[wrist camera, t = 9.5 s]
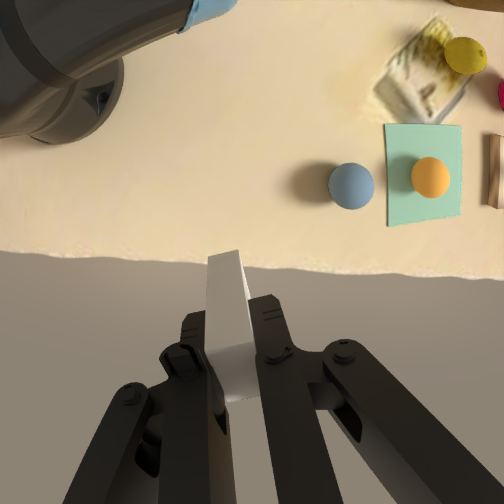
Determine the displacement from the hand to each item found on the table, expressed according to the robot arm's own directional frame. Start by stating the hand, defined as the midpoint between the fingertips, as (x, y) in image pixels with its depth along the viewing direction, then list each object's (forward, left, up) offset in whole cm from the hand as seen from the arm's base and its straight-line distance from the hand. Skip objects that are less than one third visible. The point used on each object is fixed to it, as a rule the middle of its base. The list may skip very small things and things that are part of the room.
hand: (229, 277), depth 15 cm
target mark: (+6, +27, -22) cm, 36 cm away
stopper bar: (+9, +43, -22) cm, 49 cm away
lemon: (-10, +36, -23) cm, 44 cm away
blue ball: (+4, +14, -20) cm, 24 cm away
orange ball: (+6, +26, -20) cm, 33 cm away
